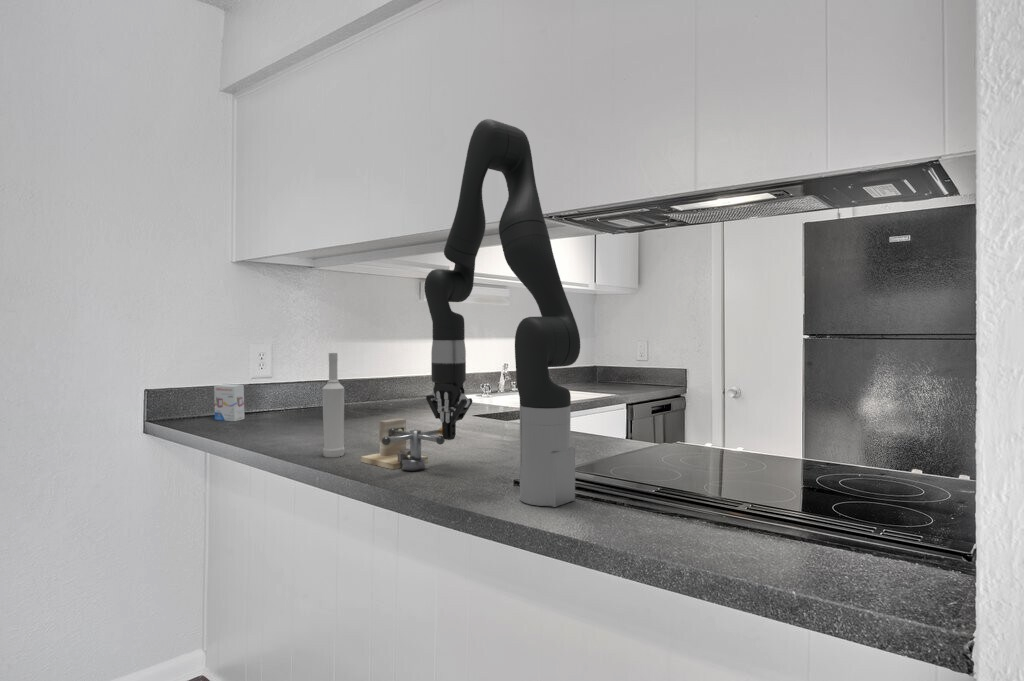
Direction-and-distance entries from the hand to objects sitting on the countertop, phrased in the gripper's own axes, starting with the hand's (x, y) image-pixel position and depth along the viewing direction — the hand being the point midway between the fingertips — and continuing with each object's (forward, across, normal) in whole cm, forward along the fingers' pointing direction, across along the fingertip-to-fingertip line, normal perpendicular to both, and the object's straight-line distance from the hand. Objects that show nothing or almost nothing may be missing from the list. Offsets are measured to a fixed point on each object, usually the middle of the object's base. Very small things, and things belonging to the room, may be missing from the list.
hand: (448, 439), depth 140 cm
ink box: (+7, +109, -1) cm, 109 cm away
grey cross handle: (+7, +5, +6) cm, 10 cm away
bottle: (+7, +32, +9) cm, 33 cm away
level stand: (+7, +13, +4) cm, 15 cm away
